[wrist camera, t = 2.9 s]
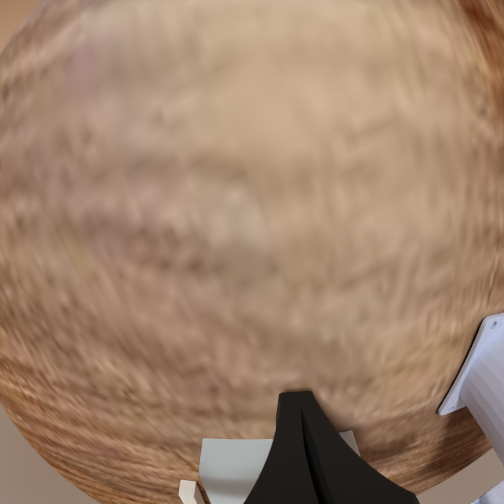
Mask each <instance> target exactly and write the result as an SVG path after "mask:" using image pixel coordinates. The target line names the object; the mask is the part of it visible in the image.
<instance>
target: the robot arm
mask: <svg viewBox="0 0 504 504" xmlns="http://www.w3.org/2000/svg"><path fill="white" fill-rule="evenodd" d="M465 406H467V408H468V409H469V411H470V412H471V414H472V415H473V417H474V418H475V420H476V421H477V423H478V424H479V426H480V428H481V429H482V431H483V432H484V434H485V435H486V437H487V439H488V440H489V442H490V444H491V445H492V447H493V448H494V450H495V452H496V453H497V455H498V457H499V459H500V460H501V462H502V464H503V466H504V313H501V314H496V315H492V316H488V317H486V318H485V319H484V320H483V322H482V324H481V326H480V329H479V331H478V334H477V336H476V339H475V341H474V343H473V346H472V348H471V350H470V352H469V354H468V357H467V359H466V361H465V363H464V365H463V367H462V369H461V371H460V373H459V375H458V377H457V379H456V380H455V382H454V384H453V386H452V388H451V390H450V391H449V393H448V395H447V396H446V398H445V400H444V402H443V403H442V405H441V406H440V408H439V410H438V413H439V414H440V415H445V414H448V413H450V412H453V411H455V410H458V409H460V408H463V407H465ZM243 504H420V503H419V501H418V499H417V497H416V496H415V494H414V493H412V492H410V491H408V490H406V489H404V488H402V487H400V486H399V485H397V484H395V483H394V482H392V481H390V480H389V479H387V478H386V477H384V476H383V475H382V474H380V473H379V472H378V471H376V470H375V469H374V468H372V467H371V466H370V465H369V464H367V463H366V462H365V461H364V460H363V459H362V458H361V457H360V456H359V455H358V454H357V453H356V452H355V451H354V450H353V449H352V448H351V447H350V446H349V445H348V444H347V443H346V442H345V440H344V439H343V438H342V437H341V436H340V434H339V433H338V432H337V431H336V429H335V428H334V427H333V425H332V424H331V422H330V421H329V420H328V418H327V417H326V415H325V414H324V412H323V411H322V409H321V407H320V406H319V404H318V402H317V401H316V399H315V397H314V395H313V393H312V392H311V391H305V392H284V393H280V394H279V398H278V406H277V414H276V432H275V436H274V439H273V442H272V445H271V448H270V451H269V454H268V457H267V459H266V462H265V464H264V466H263V469H262V471H261V473H260V475H259V477H258V479H257V481H256V483H255V485H254V487H253V488H252V490H251V492H250V493H249V495H248V497H247V498H246V500H245V502H244V503H243ZM470 504H504V480H502V481H501V482H499V483H498V484H497V485H495V486H494V487H492V488H491V489H490V490H488V491H487V492H486V493H484V494H483V495H482V496H480V498H478V499H477V500H475V501H474V502H472V503H470Z"/></svg>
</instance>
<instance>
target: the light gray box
mask: <svg viewBox="0 0 504 504" xmlns="http://www.w3.org/2000/svg"><path fill="white" fill-rule="evenodd" d="M339 434H340V436H341V437H342V438H343V439H344V440H345V442H346V443H347V444H348V445H349V446H350V447H351V448H352V449H353V450H354V451H355V452H356V453H357V454H358V455H359V456H360V453H359V450H358V447H357V444H356V441H355V437H354V434H353V431H346V432H340V433H339ZM272 442H273V439H262V440H232V439H209V438H203V444H202V451H201V459H200V466H199V476H200V479H201V481H202V483H203V486H204V488H205V490H206V493H207V495H208V497H209V500H210V502H211V504H243V503H244V502H245V500H246V498H247V497H248V495H249V493H250V492H251V490H252V488H253V487H254V485H255V483H256V481H257V479H258V477H259V475H260V473H261V471H262V469H263V466H264V464H265V462H266V459H267V457H268V454H269V451H270V448H271V445H272ZM360 457H361V456H360Z"/></svg>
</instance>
